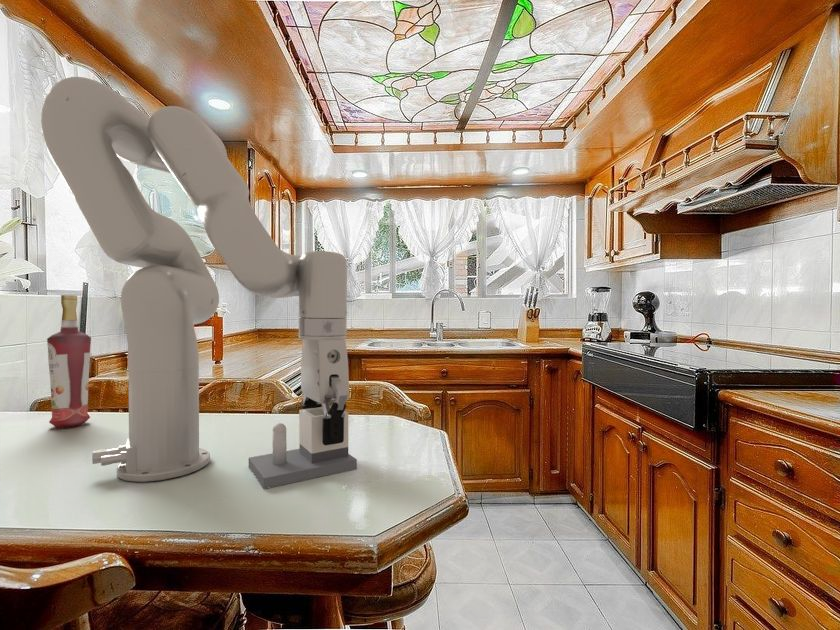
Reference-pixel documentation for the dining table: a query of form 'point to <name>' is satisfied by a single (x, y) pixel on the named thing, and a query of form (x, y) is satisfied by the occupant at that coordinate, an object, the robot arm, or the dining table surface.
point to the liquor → (69, 369)
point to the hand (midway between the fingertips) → (321, 435)
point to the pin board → (293, 464)
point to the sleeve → (319, 437)
